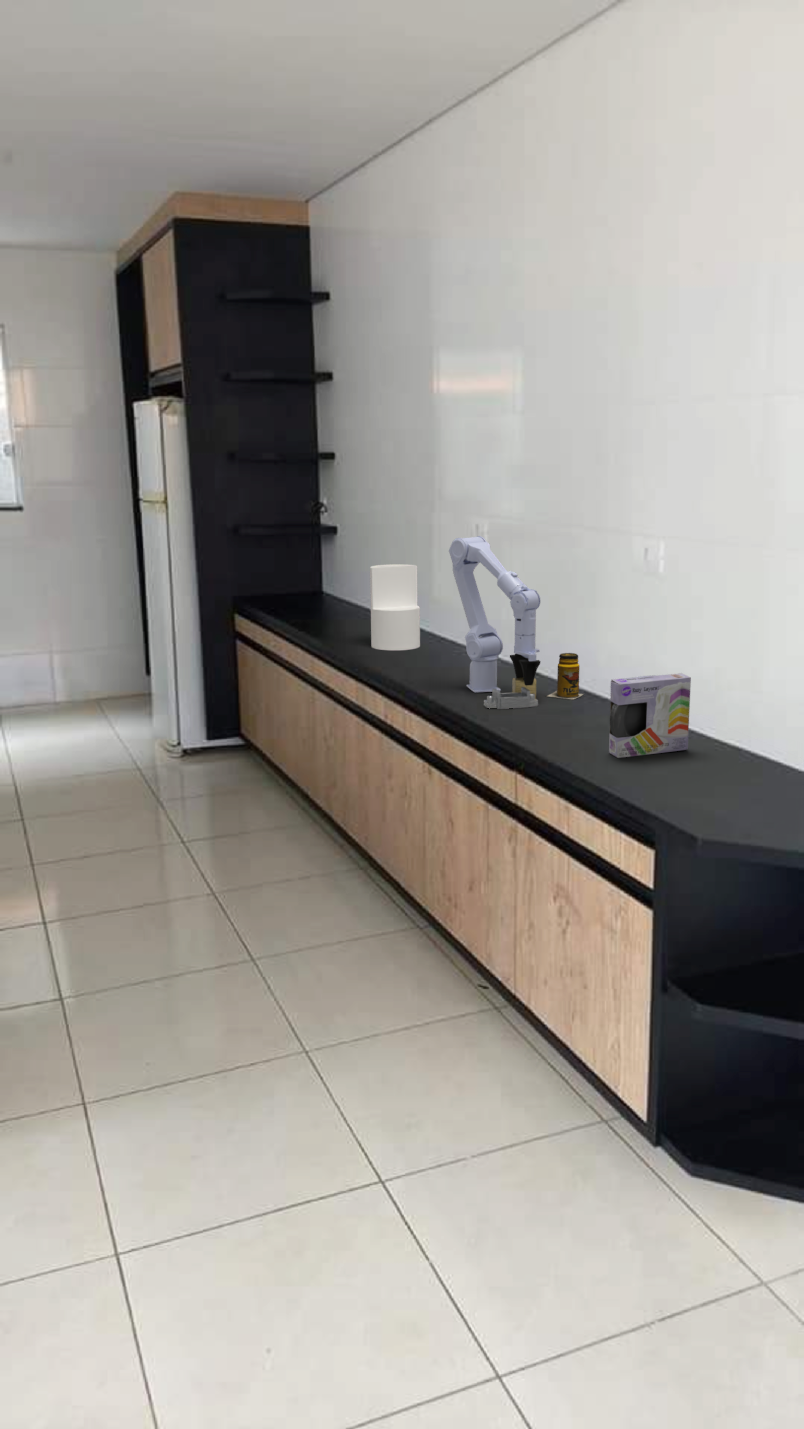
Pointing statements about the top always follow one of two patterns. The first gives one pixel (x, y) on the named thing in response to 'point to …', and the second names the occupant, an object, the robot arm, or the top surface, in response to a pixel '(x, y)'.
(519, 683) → the tan block
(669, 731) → the cake pan box
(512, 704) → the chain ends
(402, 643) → the cylinder
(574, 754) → the top surface
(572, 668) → the condiment
